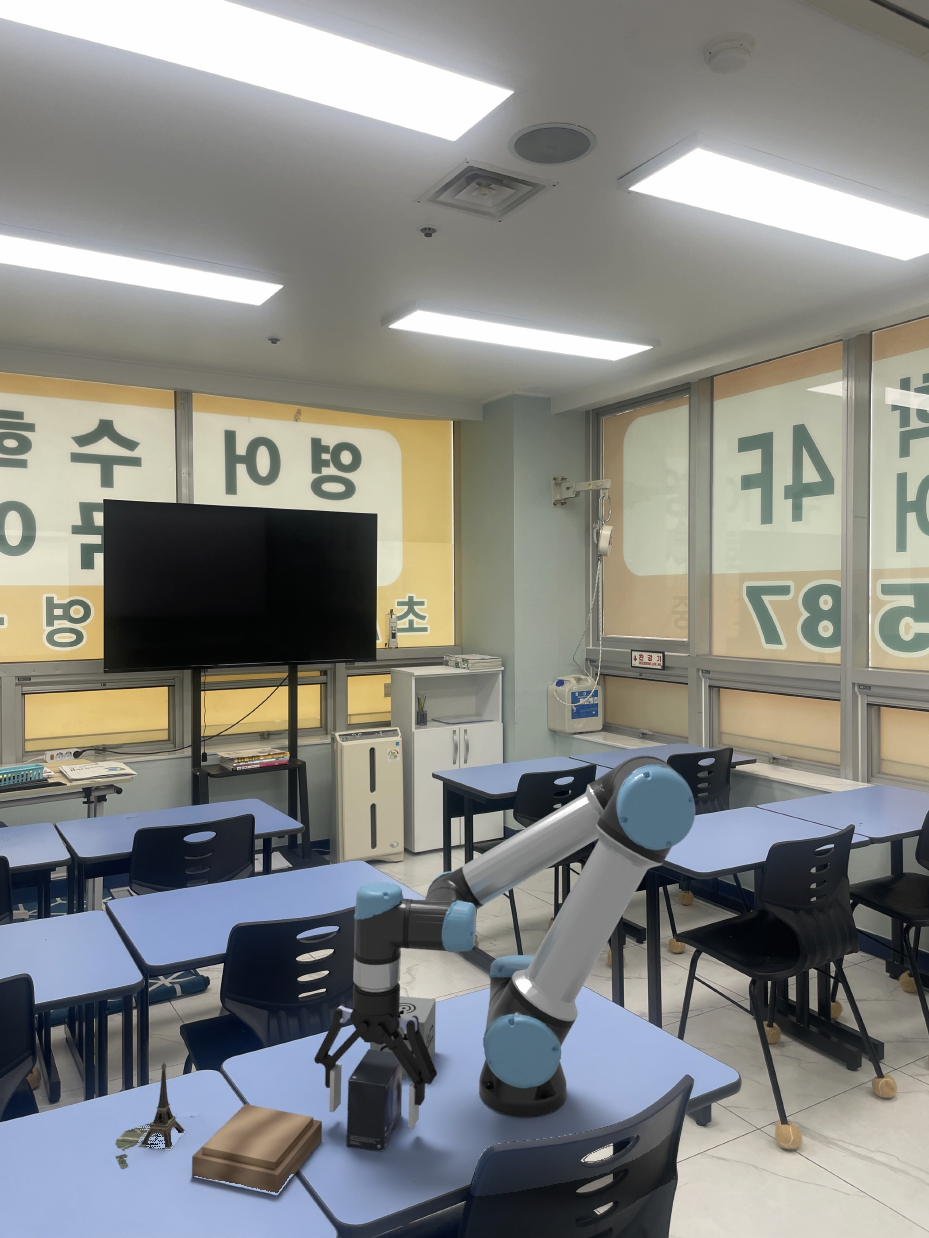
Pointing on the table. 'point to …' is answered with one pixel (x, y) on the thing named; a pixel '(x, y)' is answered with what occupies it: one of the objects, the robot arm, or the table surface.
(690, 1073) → the table surface
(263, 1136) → the plinth
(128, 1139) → the eiffel tower figurine
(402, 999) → the icon cube
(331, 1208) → the table surface
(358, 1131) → the small box
